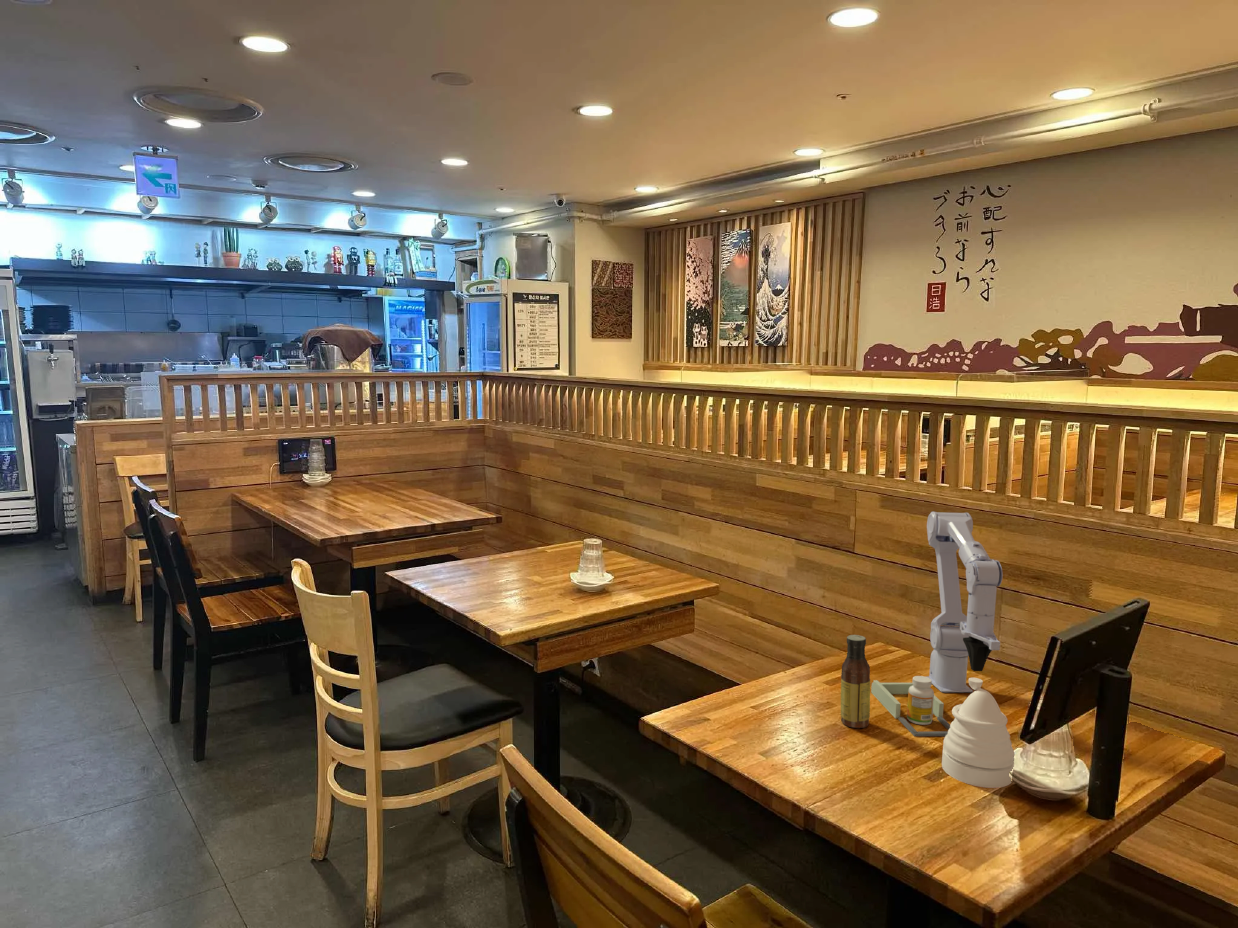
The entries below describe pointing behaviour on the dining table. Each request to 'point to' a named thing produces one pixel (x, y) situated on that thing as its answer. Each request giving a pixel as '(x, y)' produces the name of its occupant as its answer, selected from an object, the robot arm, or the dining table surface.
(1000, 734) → the honey pot
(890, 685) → the pale green open frame
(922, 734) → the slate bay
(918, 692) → the supplement bottle
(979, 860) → the dining table surface
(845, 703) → the sauce bottle
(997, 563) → the robot arm
